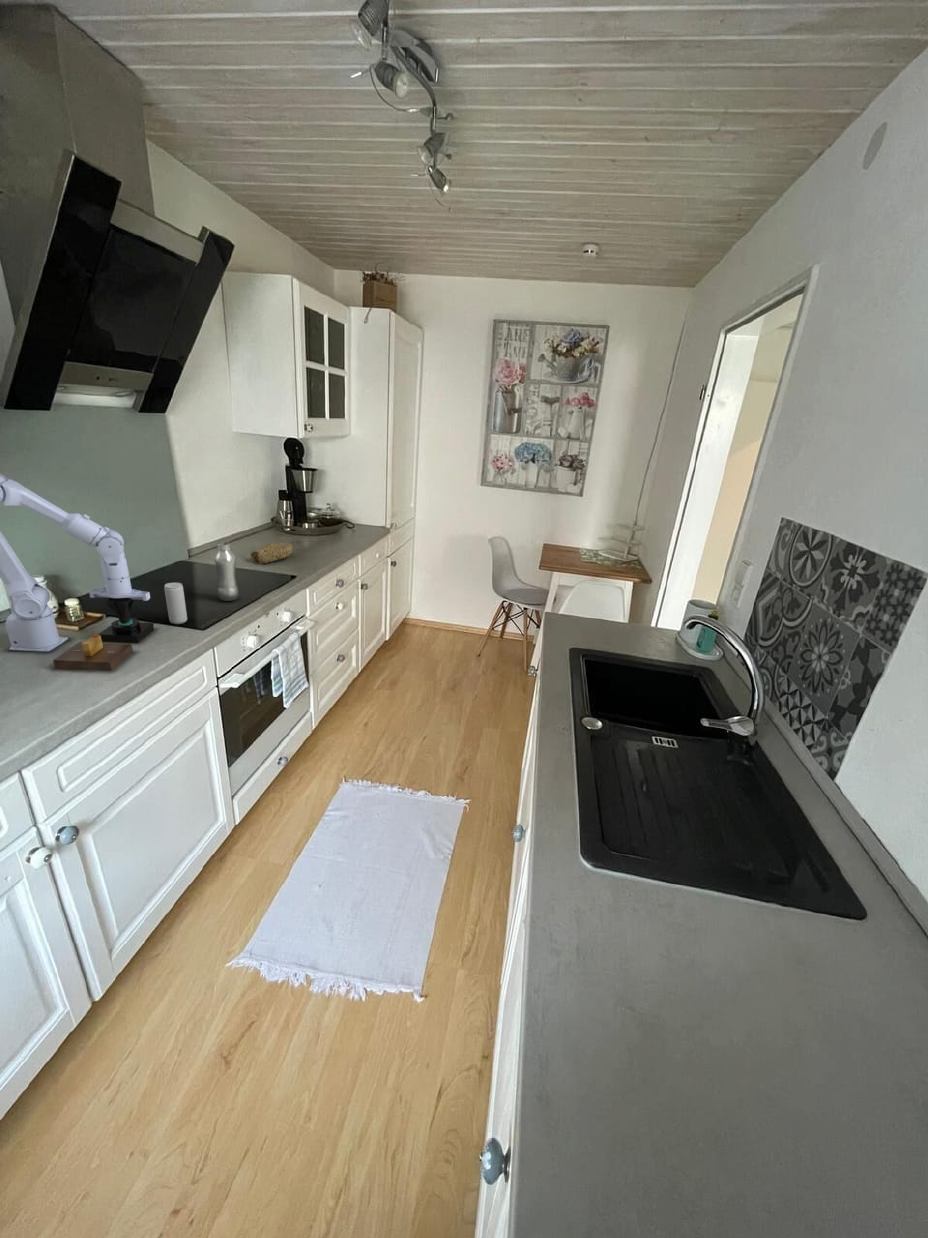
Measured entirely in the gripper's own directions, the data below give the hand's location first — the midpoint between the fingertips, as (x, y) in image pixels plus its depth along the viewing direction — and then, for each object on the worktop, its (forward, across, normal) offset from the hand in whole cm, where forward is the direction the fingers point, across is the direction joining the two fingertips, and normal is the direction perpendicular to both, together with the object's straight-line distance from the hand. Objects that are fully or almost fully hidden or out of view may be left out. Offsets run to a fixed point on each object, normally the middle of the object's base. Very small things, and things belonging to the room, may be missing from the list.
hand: (125, 622), depth 137 cm
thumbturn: (+2, 0, +15) cm, 15 cm away
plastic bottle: (+4, -17, -31) cm, 36 cm away
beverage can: (+4, -9, -11) cm, 15 cm away
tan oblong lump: (+4, -19, -81) cm, 83 cm away
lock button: (+2, 0, 0) cm, 2 cm away
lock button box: (+4, 0, 0) cm, 4 cm away
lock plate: (+4, 0, +15) cm, 16 cm away
